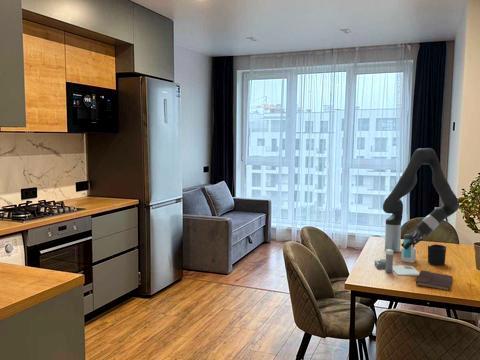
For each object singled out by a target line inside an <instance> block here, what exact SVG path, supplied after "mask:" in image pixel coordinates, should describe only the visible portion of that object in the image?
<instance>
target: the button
mask: <svg viewBox="0 0 480 360" xmlns="http://www.w3.org/2000/svg"><path fill="white" fill-rule="evenodd" d="M379 261H380V263H385V261H386V258H383V257H381V258H379Z"/></svg>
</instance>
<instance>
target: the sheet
mask: <svg viewBox="0 0 480 360" xmlns="http://www.w3.org/2000/svg"><path fill="white" fill-rule="evenodd" d="M393 272H394V273H395V274H396V275H397V276H404V277H405V276H406V277H407V276H411V277H412V276H414V277H418V276H419V274H420V271H418V270H417V269H416V268H415V267H414V266H412V265H393Z"/></svg>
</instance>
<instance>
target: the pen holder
mask: <svg viewBox="0 0 480 360" xmlns="http://www.w3.org/2000/svg"><path fill="white" fill-rule="evenodd" d="M446 252H447V245H446V246H445V245H442V244H435V243H434V244H431V245H430V246H429V245H427V264H429V265H433V266H444V265H445V264H446V255H447V254H446Z"/></svg>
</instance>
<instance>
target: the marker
mask: <svg viewBox="0 0 480 360" xmlns="http://www.w3.org/2000/svg"><path fill="white" fill-rule="evenodd" d="M411 237H412V235H411V234H409V233H404V234H403V241H404V245H405V244H406V243H408V242H409V241H410V240H411ZM404 257H405V258H411V246H410V247H409V248H408V249H407V250H406V249H405V248H404Z"/></svg>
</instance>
